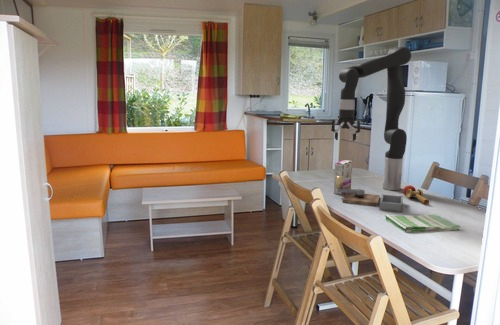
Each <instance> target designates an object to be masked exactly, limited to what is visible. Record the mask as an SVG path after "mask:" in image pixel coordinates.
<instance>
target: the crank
mask: <svg viewBox="0 0 500 325" xmlns="http://www.w3.org/2000/svg"><path fill="white" fill-rule="evenodd" d="M342 186H343V176H337V182H336V189H338V192H346V193H355V197H360V198H362V197H364V194H365V190H364V189H360V188H358V189H352V188H351V189H345V188H342ZM346 193H345V194H346Z"/></svg>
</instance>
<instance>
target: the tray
mask: <svg viewBox="0 0 500 325" xmlns="http://www.w3.org/2000/svg"><path fill="white" fill-rule="evenodd" d="M379 200H380V201H379V211H384V212H385V211H386V212H388V211H389V212H395V213H403V207H404V196H403V195H402V196H401V195H395V194H394V195H393V194H392V195H391V194H385V193H384V194H381V195H380V199H379Z"/></svg>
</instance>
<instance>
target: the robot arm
mask: <svg viewBox="0 0 500 325" xmlns="http://www.w3.org/2000/svg"><path fill="white" fill-rule="evenodd" d="M411 58H412V52H411V50H410V48H408V47H406V46H398V47H392V48H391V49H389V50H388V51H387V54H386V55H384V56H382V57H378V58H373V59H369V60H367V61H365V62H361V63H360V64H356V65H353V66H348V67H346V68H343V69H342V70H341V71H340V72H339V74H338V79H339V81H340V82H341V83H345V84H344V87H342V88H341V90H340V100H339V107H338V110H339V111H338V119H333V120H332V121H331V130H330V131H331V132H334V139H335V141H338V140H339V131H340V130H341V129H343V130H344V129H350V130H351V131H352V132H353V134H352V141H353V142H354V141H355V140H357V134H358V133H360V132H361V121H360V120H355V110H356V109H355V108H356V107H355V106H356V104H355V103H356V102H355V99H356V97H355V96H356V89H357V86H358V84H359V79H360V78H366V77H369V76H371V75H374V74H376V73H379V72H381V71H384V70H386V72H387V84H386V85H387V90H386V113H385V114H386V116H385V123H384V124H385V126H384V132H383V138H384V141H385V143H386V144H388V145H389V149H388V150H386V151H385V153H384V154H385V155H384V168H383V182H382V188H383V189H385V190H389V191H401V188H402V187H401V186H402V175H403V173H402V172H403V164H404V163H403V162H404V161H403V160H404V155H405V152H406V147H407V141H408V140H407V133H406V131H405V130H404V129H402V128H399V119H400V116H401V114H402V111H403V109H404V107H405V104H406V103H405V102H406V88H405V86H404V83H403V81H402V78H401V73H400V69H401V68H400V67H401V66H404V65H407V64H408V63H409V62H410V61H411ZM337 124H338V126H337V128H336V125H337ZM353 125H356V127H357V128H356V129H355V127H354V126H353Z"/></svg>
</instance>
